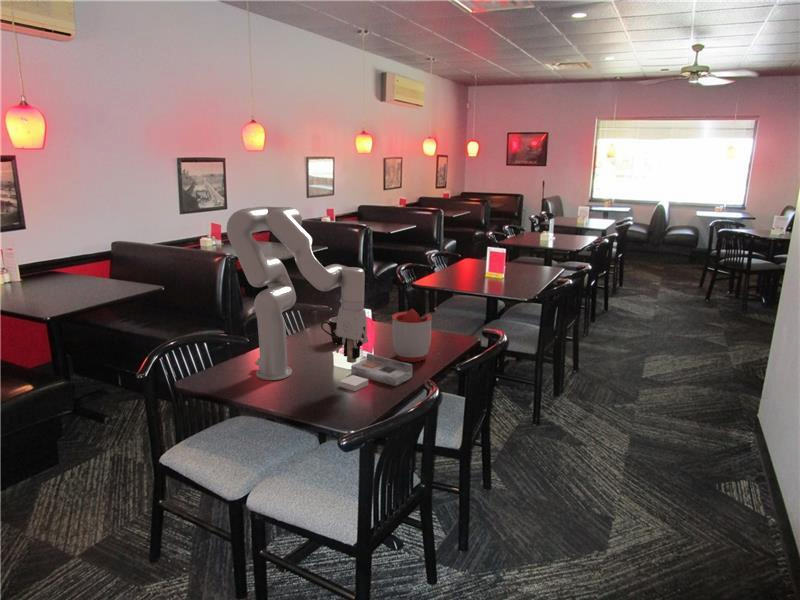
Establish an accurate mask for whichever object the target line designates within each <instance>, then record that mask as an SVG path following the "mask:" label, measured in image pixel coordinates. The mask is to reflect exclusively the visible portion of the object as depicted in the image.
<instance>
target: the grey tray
mask: <svg viewBox="0 0 800 600" xmlns="http://www.w3.org/2000/svg"><path fill="white" fill-rule="evenodd" d="M350 372H351V373H350V374H351V375H355V376H358V377H362V378H365V379H368V380H373V381H376V382H379V383H383V384H385V385H390V386H393V387H397V386H400V385H402V384H404V383H405V382H407V381H409V380H411V379H412V378H413V364H412V363H409V362H405V361H401V360H398V359H397V360H396V359H392V358H388V357H384V356H380V355H377V354H372V353H369V352H368V353H366V359H364V360H362V361H359V362H356V363H355V364H353V365H351V366H350ZM410 378H411V379H410Z"/></svg>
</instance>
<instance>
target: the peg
mask: <svg viewBox="0 0 800 600" xmlns="http://www.w3.org/2000/svg"><path fill="white" fill-rule="evenodd" d="M353 348H354V340H351V339H347V356H346V362H347V363H350V364H353V363H357V358H356V359H353V358H352V350H353Z"/></svg>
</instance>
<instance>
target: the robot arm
mask: <svg viewBox="0 0 800 600" xmlns="http://www.w3.org/2000/svg"><path fill="white" fill-rule="evenodd" d="M302 224H303V218H302V215H301V213H300V212H299V211H298V210H297V209H296V208H293V207H289V206H288V207H287V206H286V207H285V206H256V207H248V208H241V209H239V210H237V211H235V212H233V213H232V214H231V215H230V216H229V218H228V220H227V223H226V234H227V235H226V236H227V238H228V240H229V243H230V244H231V246H232V248H233V251H234V252H235V254H236V257H237V259H238V262H239V264H240V266H241V269H242V271H243V273H244V275H245V278H246V280H247V282H248V284H249V285H251V286H252V287H254V288H262V287H265V286H267V287H268V288H266V289H264V290H261V291H260V292H259V293H258V294H257V295H256V296H255V299H254V302H253V307H254V311H255V316H256V320H257V329H258V330H257V331H258V346H259V358H258V359H257V361H255V362H254V365H255V366H258V370H256V372H255V374H256V378H258V379H260V380H264V381H280V380H282V379H287V378H288V377H290V376H292V374H293V369H292V368H291V367H290V366H288V352H287V351H288V349H287V329H286V321H285V318H284V317H283V312H285V311H287V310H289V309H291V308H292V307H293V306H294V305H295V303H296V301H297V295H296V291H295V287H294V285H293V282H292V281H291V279H290V276H289V274H288V271H287V268H286V267H285V265H284V264H283V262H282V260H280V259H279V258H277V257H275V256H266V255H265V254H264V252H263V250H262V248H261V245H260V243H259V242H258V241H257V240H256V239H255V238H254V236H253V233H259V232H262V231H270V232H271V233H272V234H273V235H274V236H275V237H276V238H277V239H278V241H280V242H281V244H282V245H283V246H284V247H286V249H287V250H288V251H290V253H291V254H292V255H293V257H294V260H295V261H294V262H295V264H296V266H297V268H298V270H299V272H300V274H301V275H302V276H303V278H305V279H306V281H308V282H309V284H311V285H312V286H313V287H314V289H316V290H319V291H320V292H329V291H331V290H333V289H335V288H338V287H341V297H340V299H339V303H340V304H341V305H340V307H339V309H338V313H337V316H336V317H337V329H336V334H337V335H338V336H339V337H340V339H341V341H342V344H341V345H342V346H343V357H346V358H347V339H351V340H354V348H353V350H352V358H353V359H356V360H357V359H359V358H360V356H361V347H362V346H363V345H364V344H366V343H368V342H369V339H368V335H367V333H368V332H367V331H368V322H367V321H368V320H367V315H366V314H367V313H366V309H365V283H366V282H365V279H366V278H365V277H366V276H365V275H366V274H365V271H364V269H363V268H361V267H354V266H352V267H351V266H350V267H349V266H346V265H342V264H339V263H334V264H329V265H326V266H325V267H324V266H323V265H322V263H320V262H319V260H318V259H317V258H316V257H315V255H314V253H313V250H312V245H313V241H314V239H313V236H311V234H310V233H308V232H307V230H305V228H303V227H302Z"/></svg>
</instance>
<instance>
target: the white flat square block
mask: <svg viewBox="0 0 800 600" xmlns="http://www.w3.org/2000/svg"><path fill="white" fill-rule="evenodd" d="M367 386H369V379H368V378H365V377H361V376H358V375H354V374H351V375H349V376H347V377H345V378H343V379H341V380H339V387H340V388H344V389H346V390H350V391H352V392H353V391H354V392H357V391H359V390H361V389H364V388H365V387H367Z"/></svg>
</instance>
